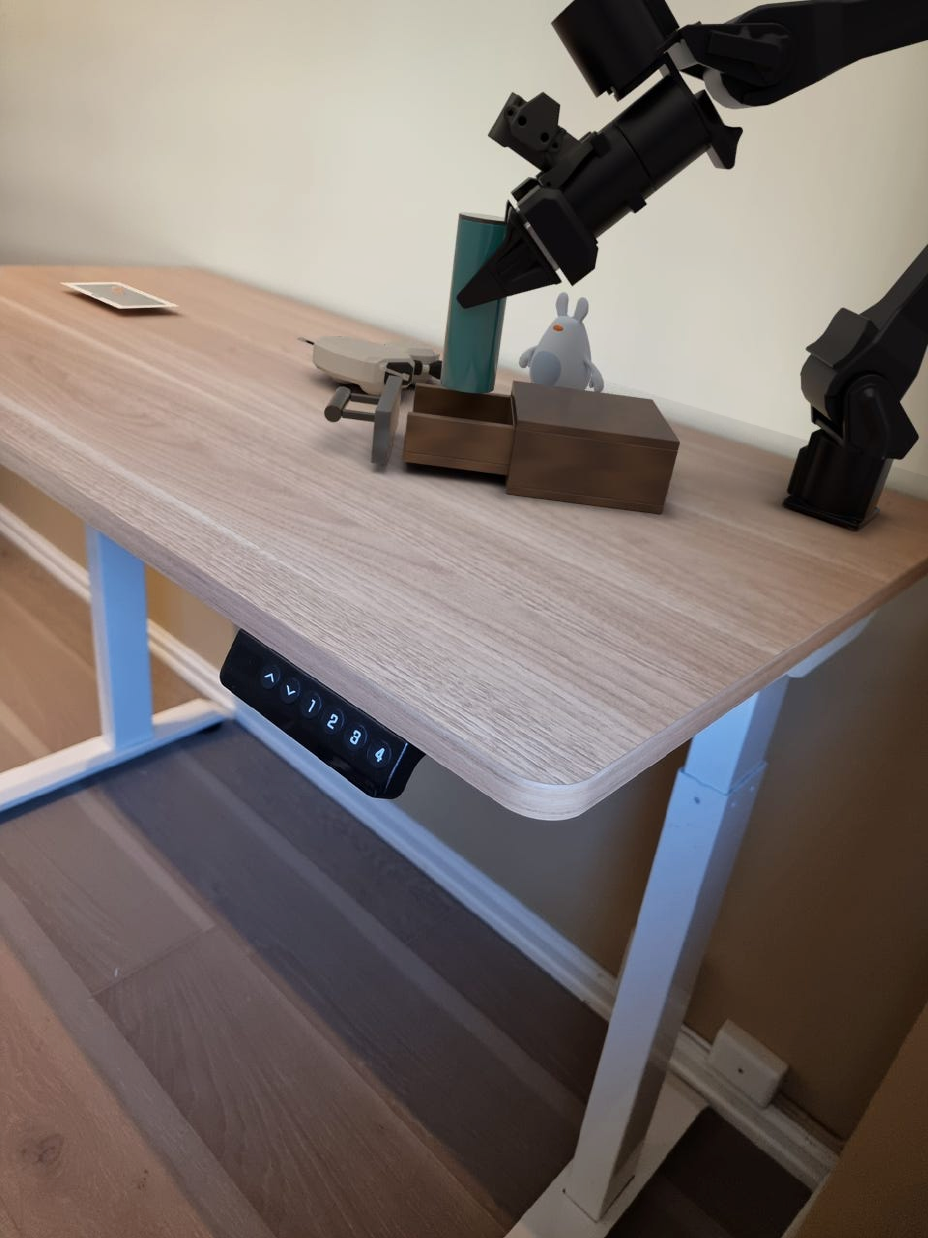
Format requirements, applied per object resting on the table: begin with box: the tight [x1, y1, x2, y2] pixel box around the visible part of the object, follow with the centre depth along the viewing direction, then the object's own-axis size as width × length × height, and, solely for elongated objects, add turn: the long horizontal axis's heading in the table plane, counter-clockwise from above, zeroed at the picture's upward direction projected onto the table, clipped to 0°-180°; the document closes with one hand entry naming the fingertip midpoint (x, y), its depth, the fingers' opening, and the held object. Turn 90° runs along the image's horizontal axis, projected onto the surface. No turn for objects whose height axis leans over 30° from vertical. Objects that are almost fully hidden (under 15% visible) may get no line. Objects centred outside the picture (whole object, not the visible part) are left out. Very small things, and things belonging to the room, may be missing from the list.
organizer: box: [504, 380, 681, 515], centre depth 73 cm, size 12×12×6 cm
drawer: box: [323, 375, 516, 476], centre depth 73 cm, size 16×11×4 cm
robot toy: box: [296, 335, 442, 397], centre depth 92 cm, size 12×4×15 cm
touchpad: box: [60, 281, 180, 310], centre depth 111 cm, size 8×15×2 cm, turn 46°
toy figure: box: [518, 291, 605, 393], centre depth 88 cm, size 11×6×12 cm, turn 47°
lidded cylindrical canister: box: [439, 211, 508, 393], centre depth 68 cm, size 4×4×12 cm
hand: (460, 298), depth 68 cm, fingers closed on lidded cylindrical canister, 4 cm apart
